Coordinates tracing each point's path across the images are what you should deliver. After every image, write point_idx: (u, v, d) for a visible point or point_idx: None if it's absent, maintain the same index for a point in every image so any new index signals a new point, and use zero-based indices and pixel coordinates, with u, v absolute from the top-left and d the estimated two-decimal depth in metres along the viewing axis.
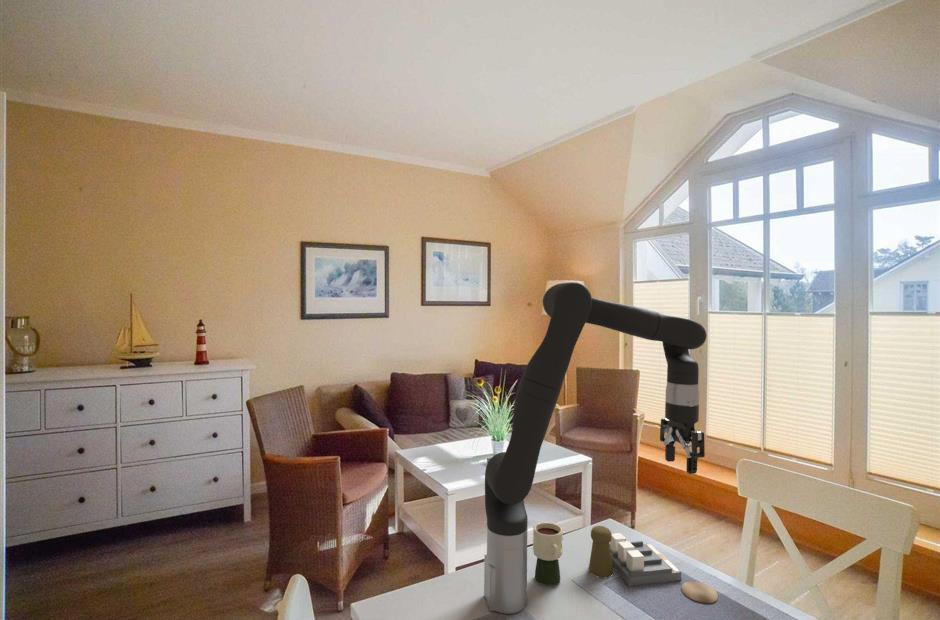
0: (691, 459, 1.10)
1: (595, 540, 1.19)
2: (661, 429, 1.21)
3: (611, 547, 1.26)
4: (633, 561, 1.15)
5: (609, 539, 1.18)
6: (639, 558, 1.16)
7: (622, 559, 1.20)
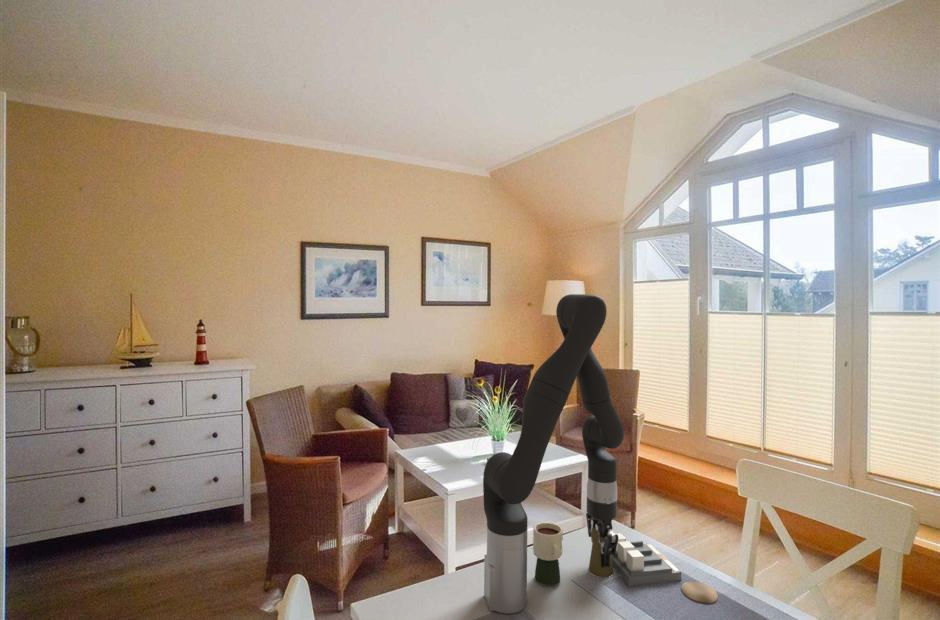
0: (604, 554, 1.17)
1: (595, 540, 1.19)
2: (588, 524, 1.25)
3: None
4: (633, 561, 1.15)
5: None
6: (639, 558, 1.16)
7: (622, 559, 1.20)
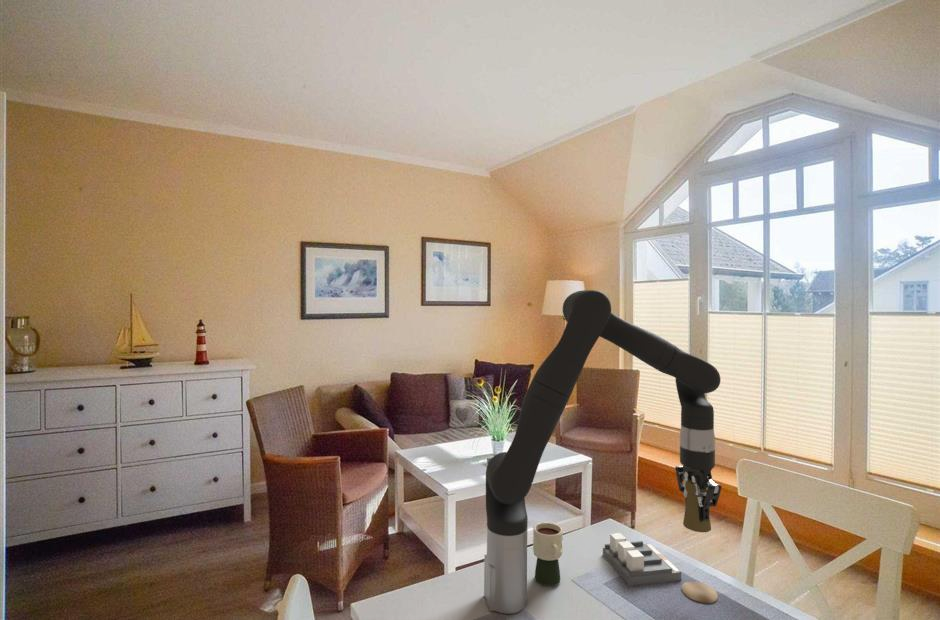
0: (703, 507, 1.09)
1: (692, 492, 1.10)
2: (678, 478, 1.17)
3: (611, 547, 1.26)
4: (633, 561, 1.15)
5: None
6: (639, 558, 1.16)
7: (622, 559, 1.20)
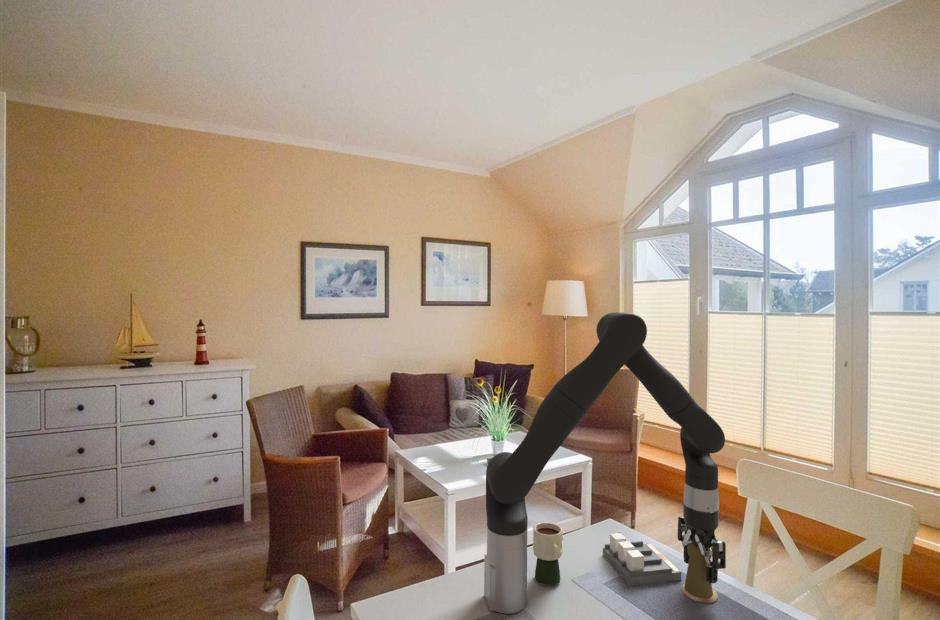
0: (711, 568, 1.06)
1: (694, 558, 1.10)
2: (679, 528, 1.17)
3: (611, 547, 1.26)
4: (633, 561, 1.15)
5: (710, 556, 1.09)
6: (639, 558, 1.16)
7: (622, 559, 1.20)
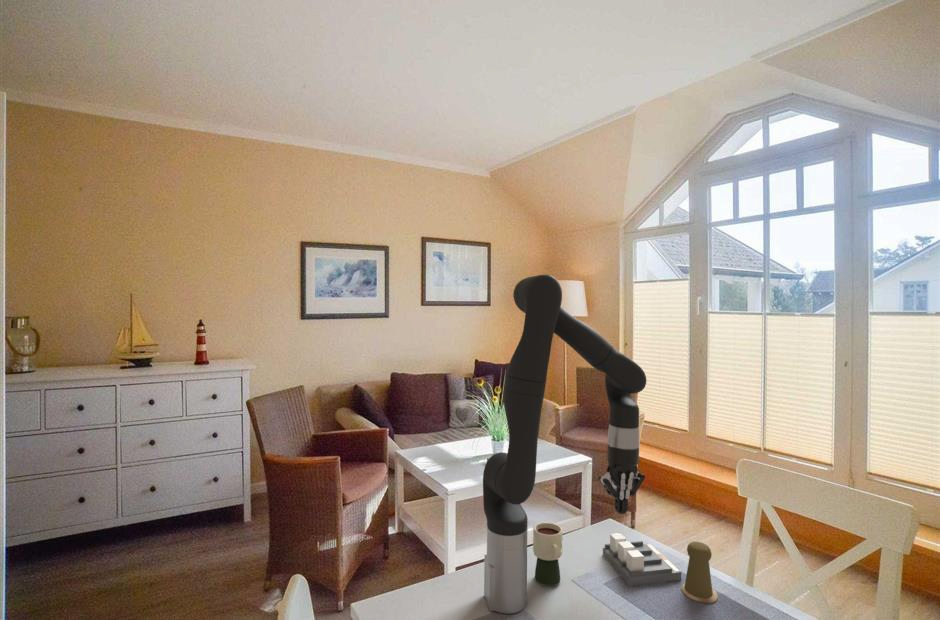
0: None
1: (694, 558, 1.10)
2: None
3: (611, 547, 1.26)
4: (633, 561, 1.15)
5: (710, 556, 1.09)
6: (639, 558, 1.16)
7: (622, 559, 1.20)
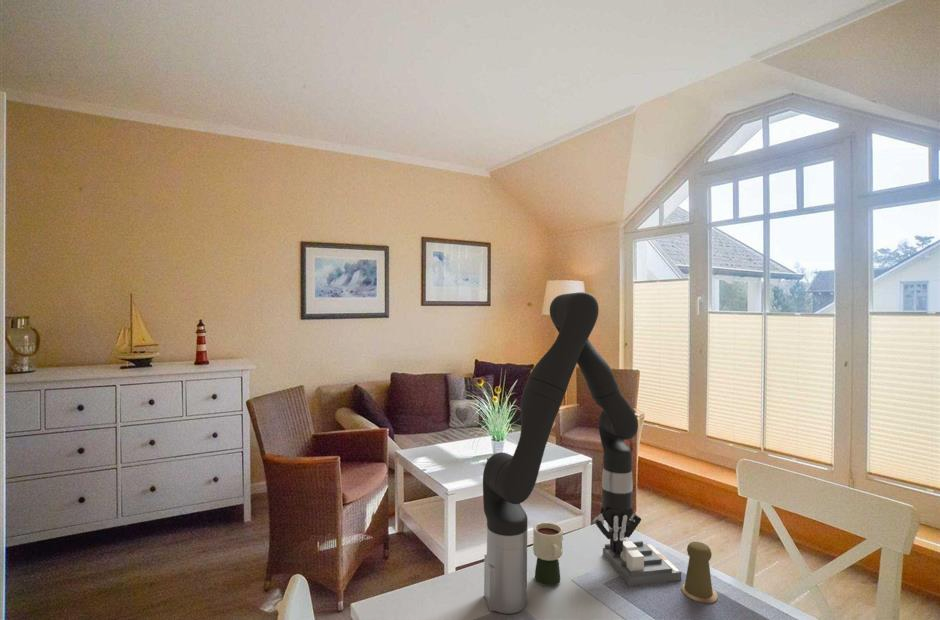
0: None
1: (694, 558, 1.10)
2: None
3: None
4: (633, 561, 1.15)
5: (710, 556, 1.09)
6: (639, 558, 1.16)
7: (625, 559, 1.20)
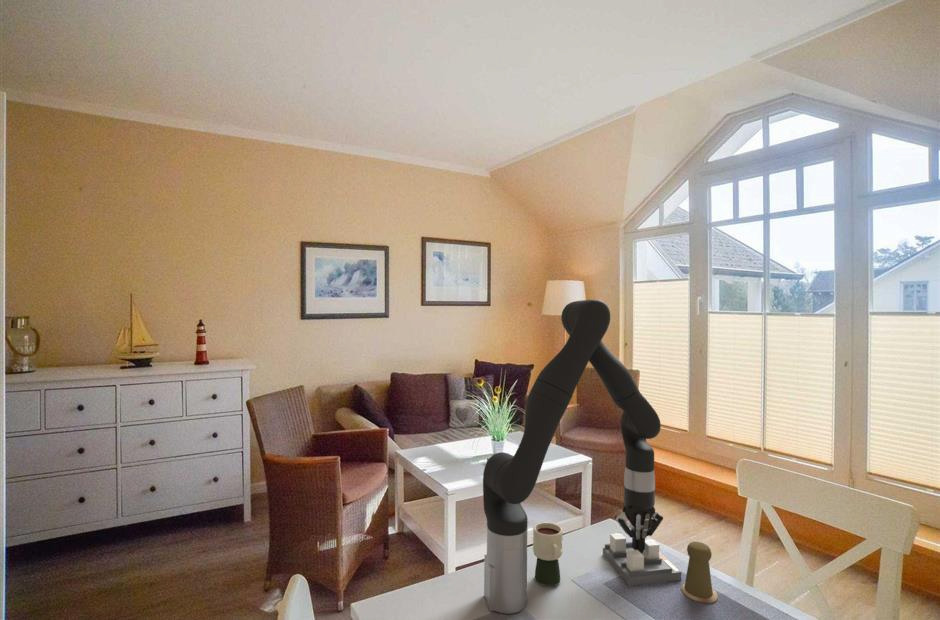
0: None
1: (694, 558, 1.10)
2: None
3: (611, 547, 1.26)
4: (633, 561, 1.15)
5: (710, 556, 1.09)
6: (639, 558, 1.16)
7: (647, 557, 1.22)
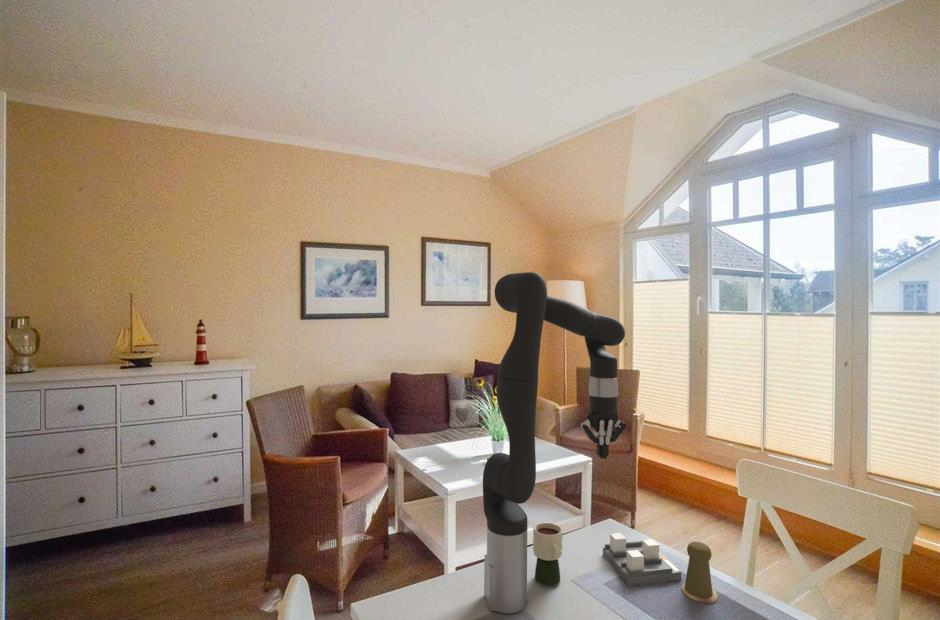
0: None
1: (694, 558, 1.10)
2: None
3: (611, 547, 1.26)
4: (633, 561, 1.15)
5: (710, 556, 1.09)
6: (639, 558, 1.16)
7: (647, 557, 1.22)
